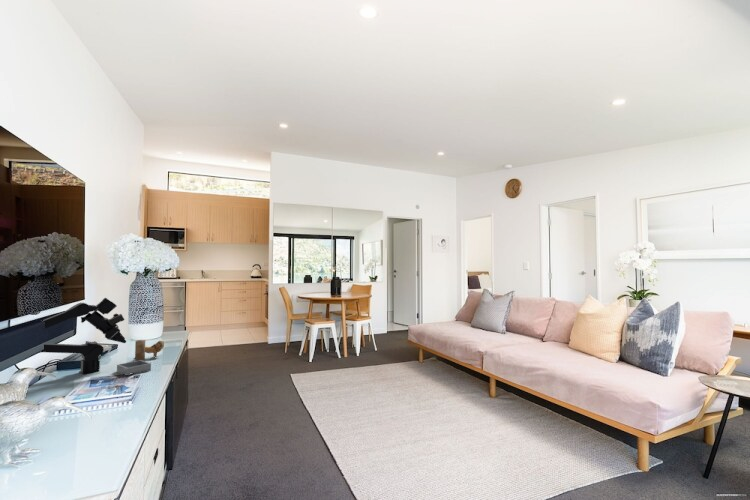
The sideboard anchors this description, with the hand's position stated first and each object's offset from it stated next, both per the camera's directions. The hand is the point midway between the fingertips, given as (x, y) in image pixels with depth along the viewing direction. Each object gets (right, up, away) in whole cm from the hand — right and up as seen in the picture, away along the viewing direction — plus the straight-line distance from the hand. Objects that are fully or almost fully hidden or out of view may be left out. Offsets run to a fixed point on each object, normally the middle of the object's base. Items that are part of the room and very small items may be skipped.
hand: (124, 340), depth 186 cm
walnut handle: (+5, -14, +4) cm, 15 cm away
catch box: (+10, -13, -8) cm, 18 cm away
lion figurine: (+2, -14, +17) cm, 23 cm away
